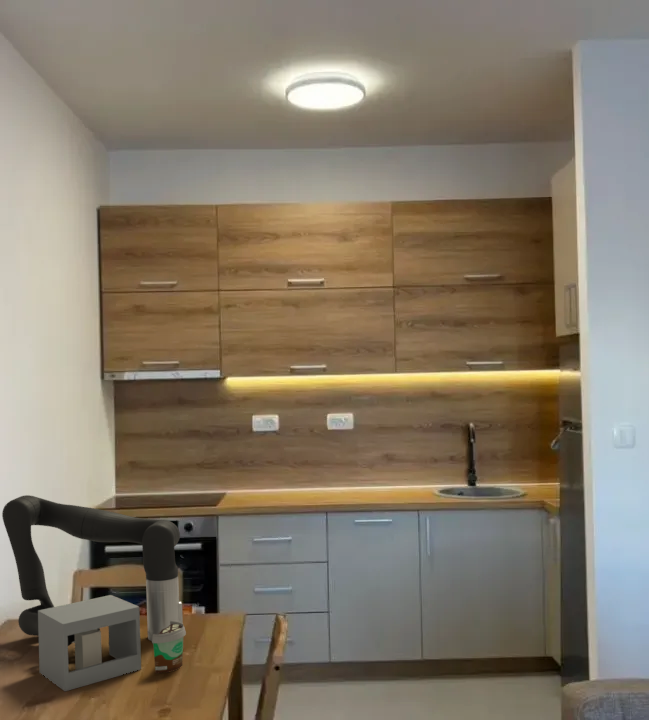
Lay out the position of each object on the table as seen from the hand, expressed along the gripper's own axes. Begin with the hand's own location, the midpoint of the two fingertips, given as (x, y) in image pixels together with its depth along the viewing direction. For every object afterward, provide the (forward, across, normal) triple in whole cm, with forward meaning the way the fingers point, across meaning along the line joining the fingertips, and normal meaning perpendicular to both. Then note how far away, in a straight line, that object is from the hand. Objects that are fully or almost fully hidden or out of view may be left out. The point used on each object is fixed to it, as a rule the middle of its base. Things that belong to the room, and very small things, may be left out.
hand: (81, 643), depth 204 cm
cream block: (+4, 0, +6) cm, 7 cm away
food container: (+18, +17, +6) cm, 25 cm away
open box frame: (+5, 0, +6) cm, 8 cm away
